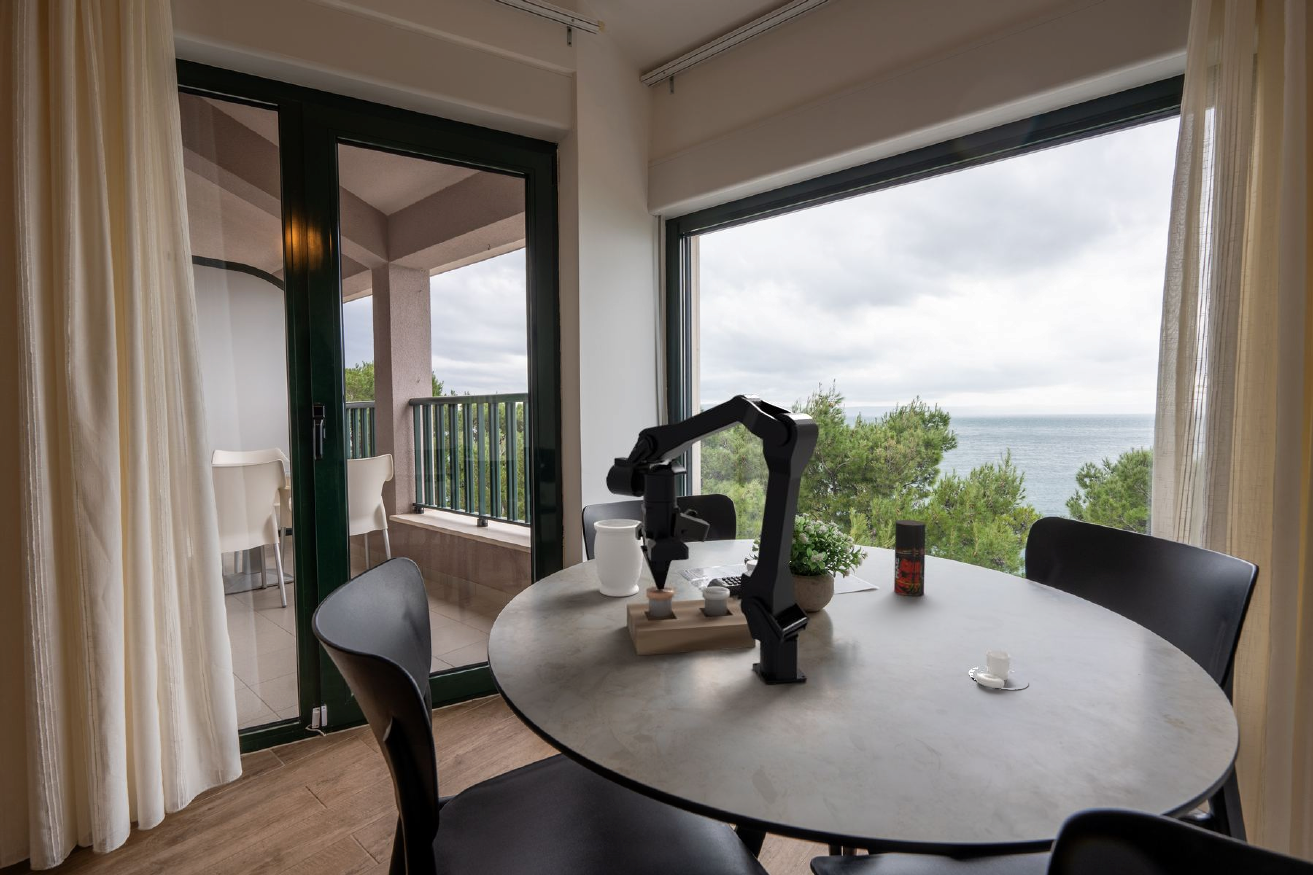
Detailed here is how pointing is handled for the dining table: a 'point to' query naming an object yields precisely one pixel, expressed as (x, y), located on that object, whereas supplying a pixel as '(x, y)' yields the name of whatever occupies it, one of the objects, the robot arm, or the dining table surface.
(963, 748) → the dining table surface
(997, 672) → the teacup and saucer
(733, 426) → the robot arm
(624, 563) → the jar
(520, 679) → the dining table surface
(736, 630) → the wooden socket block
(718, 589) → the plug
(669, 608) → the plug
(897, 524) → the deodorant
